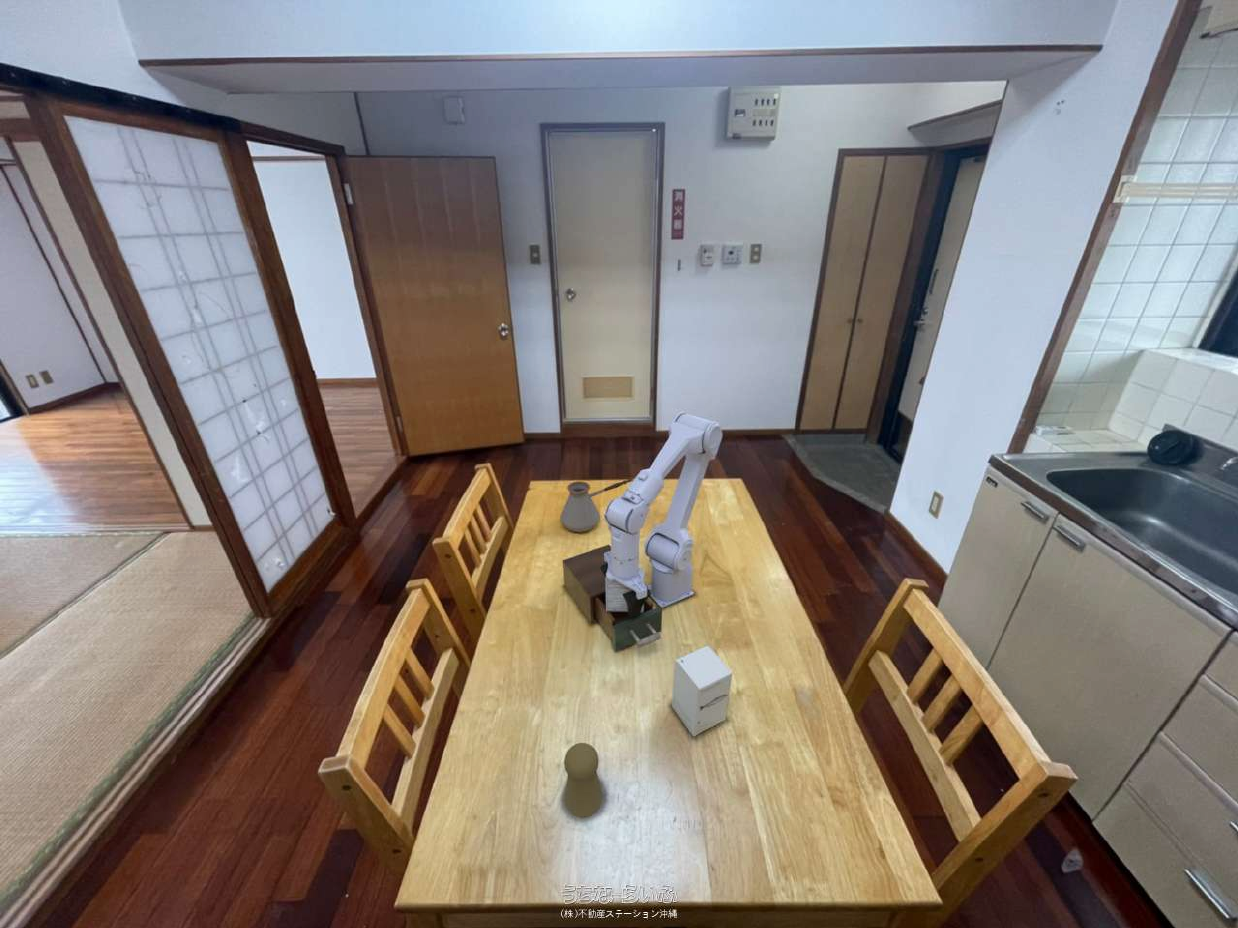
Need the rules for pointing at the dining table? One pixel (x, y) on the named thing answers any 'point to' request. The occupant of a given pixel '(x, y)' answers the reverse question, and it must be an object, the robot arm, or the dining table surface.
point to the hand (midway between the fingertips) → (624, 604)
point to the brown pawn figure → (582, 781)
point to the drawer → (629, 624)
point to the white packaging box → (701, 689)
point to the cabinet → (586, 579)
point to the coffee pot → (582, 507)
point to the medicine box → (618, 594)
